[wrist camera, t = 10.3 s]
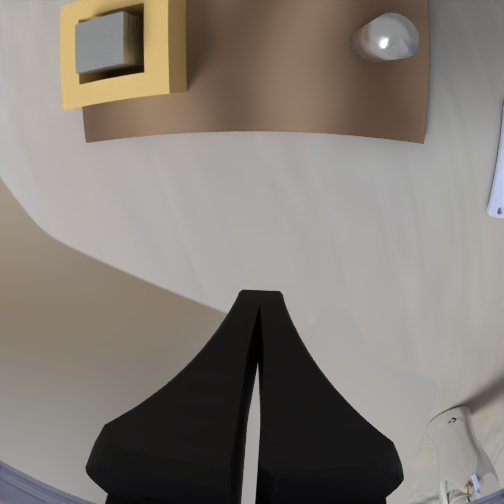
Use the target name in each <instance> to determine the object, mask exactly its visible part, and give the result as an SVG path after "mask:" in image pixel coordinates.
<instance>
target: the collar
mask: <svg viewBox="0 0 504 504" xmlns="http://www.w3.org/2000/svg"><path fill="white" fill-rule="evenodd" d="M122 11H124V12H126V13H129V14H131V15H134V16H136V17H139V18H141V19H142V18H144V71H145V72H144V73H137V74H131V75H125V76H119V77H114V78H109V79H108V73H86V74H76V67H75V25H76V24H79V23H82V22H86V21H89V20H92V19H96V18H99V17H103V16H106V15H110V14H114V13H118V12H122ZM60 68H61V89H62V103H63V111H64V110H69V109H73V108H78V107H83V106H88V105H93V104H98V103H104V102H110V101H116V100H122V99H129V98H136V97H144V96H152V95H161V94H171V93H180V92H187V77H186V0H79V1H76V2H73V3H70V4H67V5H65V6H62V7H61V19H60Z"/></svg>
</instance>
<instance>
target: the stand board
mask: <svg viewBox="0 0 504 504" xmlns="http://www.w3.org/2000/svg"><path fill="white" fill-rule="evenodd" d="M75 67H76V74H86V73H108V79H109V78H114V77H119V76H125V75H131V74H137V73H144V72H145V71H144V18H142V19H141V18H139V17H136V16H134V15H131V14H129V13H126V12H124V11H122V12H118V13H114V14H110V15H106V16H103V17H99V18H96V19H92V20H89V21H86V22H82V23H79V24H76V25H75ZM186 77H187V92H180V93H171V94H161V95H152V96H144V97H136V98H129V99H122V100H116V101H110V102H104V103H98V104H93V105H88V106H83V107H82V109H83V120H84V129H85V138H86V143H89V142H96V141H103V140H112V139H120V138H129V137H139V136H150V135H163V134H177V133H195V132H224V131H280V132H308V133H327V134H341V135H354V136H365V137H375V138H384V139H392V140H400V141H408V142H415V143H422V144H424V138H425V128H426V117H427V103H428V85H429V17H428V0H186Z"/></svg>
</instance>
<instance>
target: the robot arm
mask: <svg viewBox="0 0 504 504" xmlns="http://www.w3.org/2000/svg"><path fill="white" fill-rule="evenodd" d="M499 208H500V209H499ZM498 209H499V211H498ZM497 211H498V212H497ZM487 212H488V214H489V215H490V216H492V217H497V218H504V107H503V118H502V128H501V136H500V144H499V151H498V157H497V163H496V169H495V175H494V180H493V185H492V190H491V194H490V199H489V203H488V207H487ZM257 364H258V371H259V394H260V441H259V457H258V473H257V487H256V501H255V504H386V497H387V496H388V495H390V494H391V493H392V492H393V491H394V490H395V489H397V488H398V486H399V485H400V484H401V483H402V481H403V480H404V475H403V469H402V464H401V461H400V458H399V456H398V453H397V450H396V448H395V446H394V443H393V442H392V441H391V440H390V439H388V438H387V437H386V436H385V435H383V434H382V433H381V432H379V431H378V430H377V429H376V428H375V427H373V426H372V425H371V424H370V423H369V422H367V421H366V420H365V419H364V418H363V417H362V416H361V415H360V414H359V413H358V412H357V411H356V410H355V409H354V408H353V407H352V406H351V405H350V404H349V403H348V402H347V401H346V400H345V399H344V398H343V396H342V395H341V394H340V393H339V392H338V391H337V390H336V389H335V388H334V387H333V385H332V384H331V383H330V382H329V380H328V379H327V378H326V377H325V375H324V374H323V373H322V371H321V370H320V369H319V367H318V366H317V364H316V363H315V361H314V360H313V358H312V357H311V355H310V353H309V352H308V351H307V349H306V347H305V345H304V343H303V342H302V340H301V338H300V336H299V334H298V332H297V330H296V328H295V326H294V324H293V322H292V320H291V318H290V315H289V313H288V311H287V308H286V305H285V302H284V298H283V294H282V293H281V292H280V291H262V290H242V291H240V292H239V294H238V297H237V299H236V301H235V303H234V304H233V306H232V308H231V310H230V311H229V313H228V315H227V316H226V318H225V319H224V321H223V322H222V324H221V325H220V327H219V328H218V329H217V331H216V332H215V334H214V335H213V336H212V338H211V339H210V340H209V341H208V342H207V344H206V345H205V346H204V347H203V349H202V350H201V351H200V352H199V353H198V354H197V355H196V357H195V358H194V359H193V360H192V361H191V362H190V363H189V364H188V365H187V366H186V367H185V368H184V369H183V370H182V371H181V372H180V373H178V374H177V375H176V376H175V377H174V378H173V379H172V380H171V381H170V382H168V384H166V385H165V386H164V387H162V388H161V389H160V390H158V391H157V392H156V393H154V394H153V395H152V396H150V397H149V398H148V399H146V400H145V401H143V402H142V403H141V404H139V405H138V406H136V407H135V408H133V409H131V410H130V411H128V412H126V413H125V414H123V415H121V416H120V417H118V418H116V419H114V420H113V421H111V422H109V423H107V424H105V425H104V427H103V429H102V431H101V433H100V434H99V436H98V438H97V440H96V442H95V444H94V446H93V449H92V451H91V454H90V457H89V459H88V462H87V465H86V472H87V474H88V476H89V477H90V478H91V479H92V480H93V481H94V482H95V483H96V484H97V485H98V486H100V487H101V488H102V489H103V490H104V491H105V492H106V493H108V496H107V499H106V503H105V504H241V496H242V483H243V470H244V458H245V445H246V432H247V422H248V414H249V409H250V404H251V398H252V392H253V387H254V382H255V376H256V370H257ZM0 504H96V503H93V502H90V501H87V500H84V499H81V498H79V497H76V496H74V495H71V494H69V493H66V492H64V491H61V490H59V489H57V488H54V487H52V486H50V485H48V484H45V483H43V482H41V481H39V480H37V479H35V478H32V477H31V476H28V475H27V474H25V473H23V472H21V471H19V470H17V469H15V468H13V467H11V466H10V465H8V464H6V463H4V462H2V461H1V460H0ZM466 504H504V488H503V489H501V490H499V491H496V492H494V493H492V494H489V495H487V496H484V497H482V498H479V499H477V500H474V501H471V502H468V503H466Z"/></svg>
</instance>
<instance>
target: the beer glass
mask: <svg viewBox="0 0 504 504" xmlns="http://www.w3.org/2000/svg"><path fill="white" fill-rule="evenodd" d="M426 433H427V435H428V437H429V439H430V441H431V443H432V445H433V447H434V450H435V453H436V458H437V472H438V492H439V501H440V504H466V503H468V502H471V501H474V500H477V499H479V498H482V497H484V496H487V495H489V494H492V493H494V492H496V491H499V490H501V488H500V484H499V480H498V477H497V474H496V471H495V469H494V467H493V465H492V463H491V461H490V459H489V457H488V455H487V454H486V452H485V450H484V449H483V447H482V445H481V444H480V442H479V440H478V438H477V436H476V434H475V431H474V428H473V423H472V417H471V411H470V409H469V408H468V407H466V406H459V407H455V408H452V409H449V410H447V411H445V412H443V413H441V414H440V415H438V416H437V417H435V418H434V419H433V420H432V421H431V422H430V423H429V424H428V425H427V427H426Z"/></svg>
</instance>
